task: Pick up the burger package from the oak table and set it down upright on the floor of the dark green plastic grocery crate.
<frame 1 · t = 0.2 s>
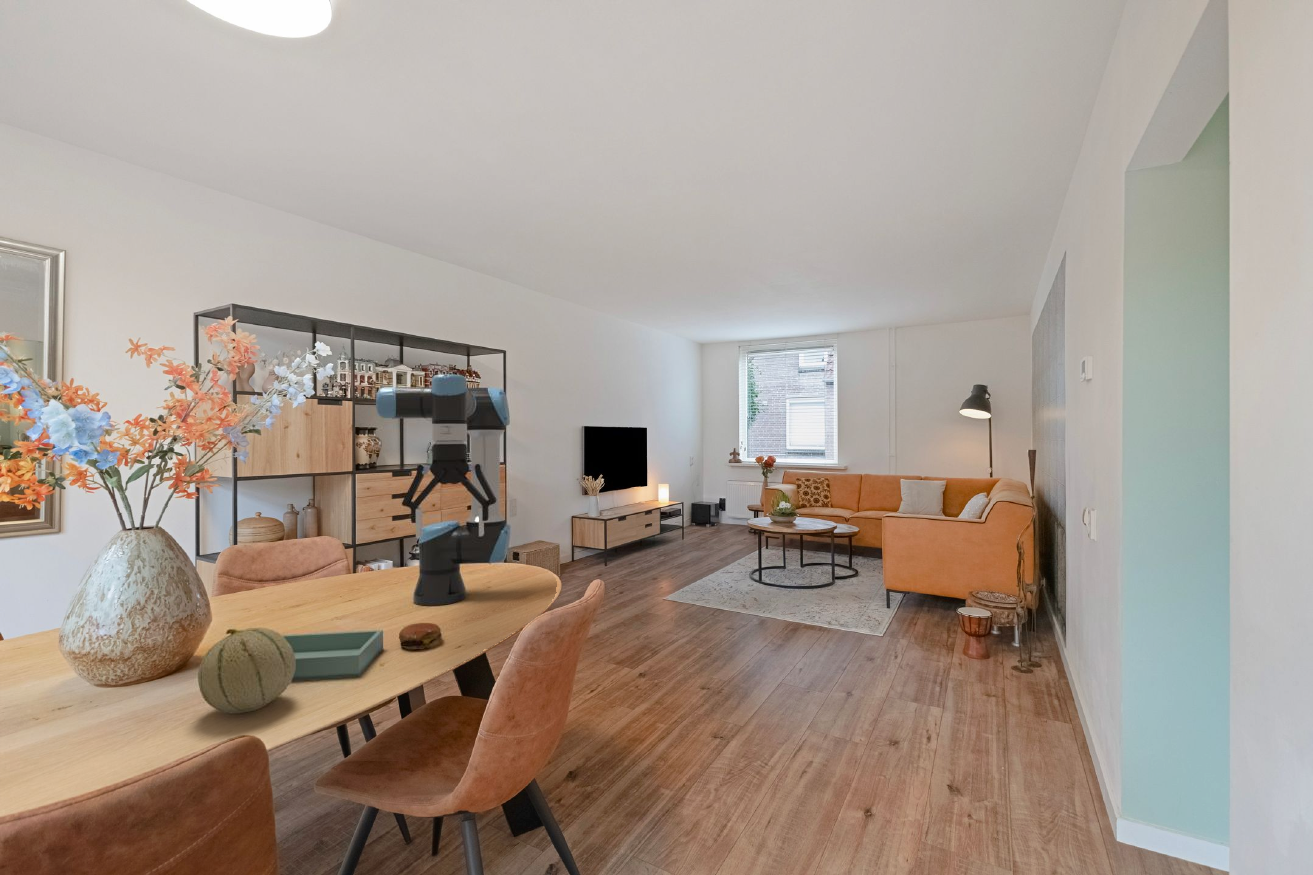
hand: (450, 536, 134), 27 cm above the table, fingers open, 13 cm apart
cantaloupe: (249, 709, 108), on the table
crate: (313, 665, 128), on the table
burger: (421, 645, 141), on the table
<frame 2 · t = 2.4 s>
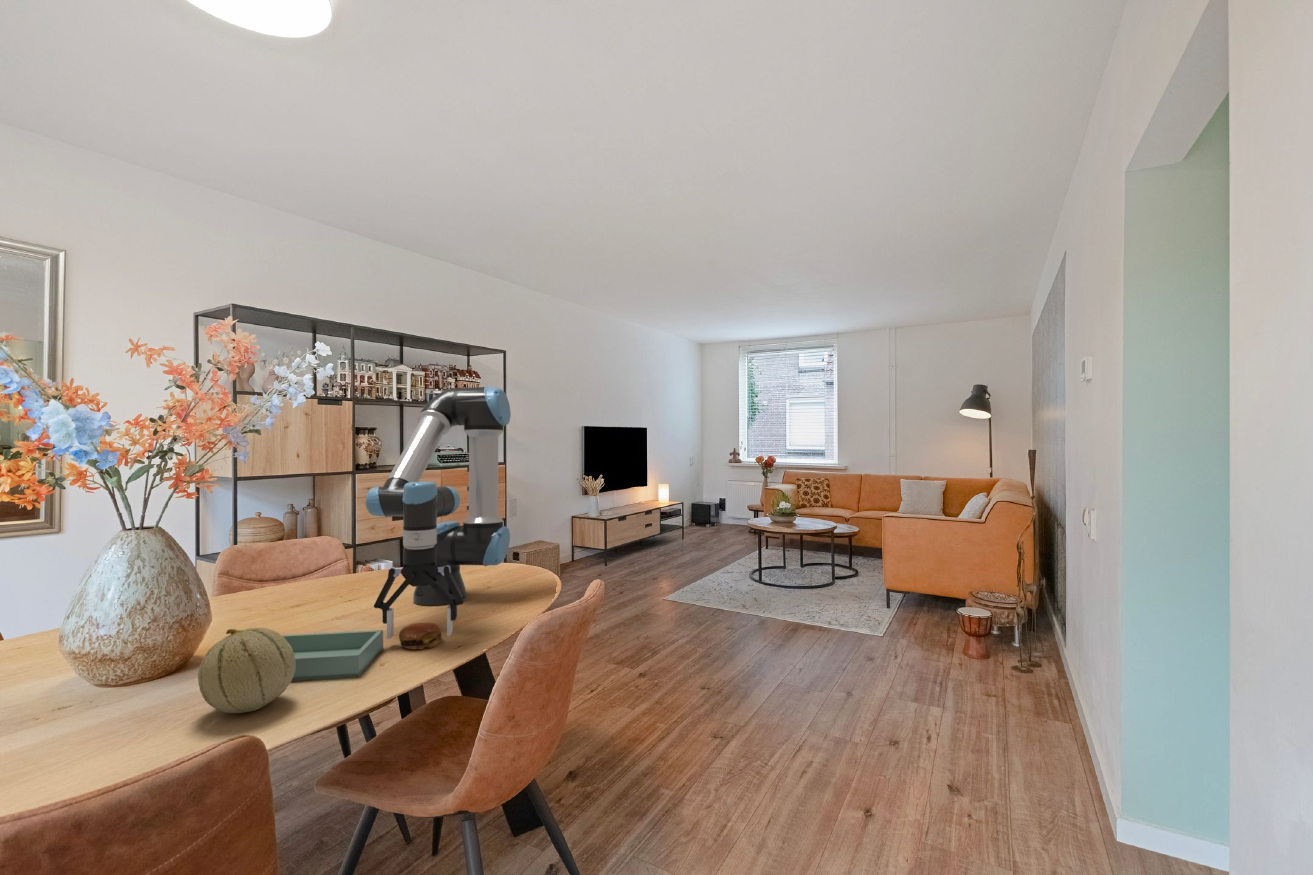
hand: (420, 635, 141), 2 cm above the table, fingers open, 13 cm apart
nothing on the table moved.
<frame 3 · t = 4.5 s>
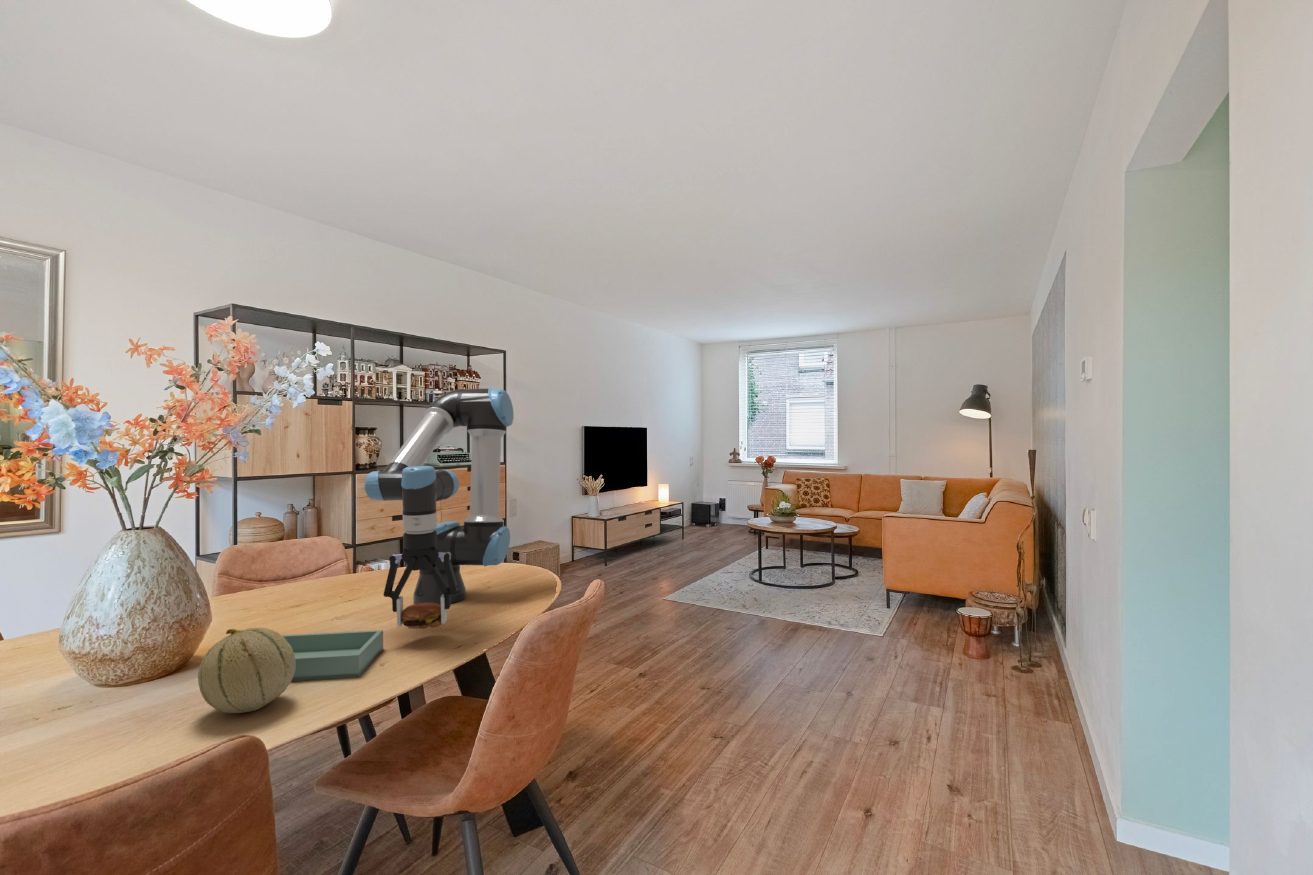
hand: (422, 623, 142), 5 cm above the table, fingers closed on burger, 9 cm apart
burger: (423, 624, 142), point 4 cm above the table, touching gripper
everything else where it was.
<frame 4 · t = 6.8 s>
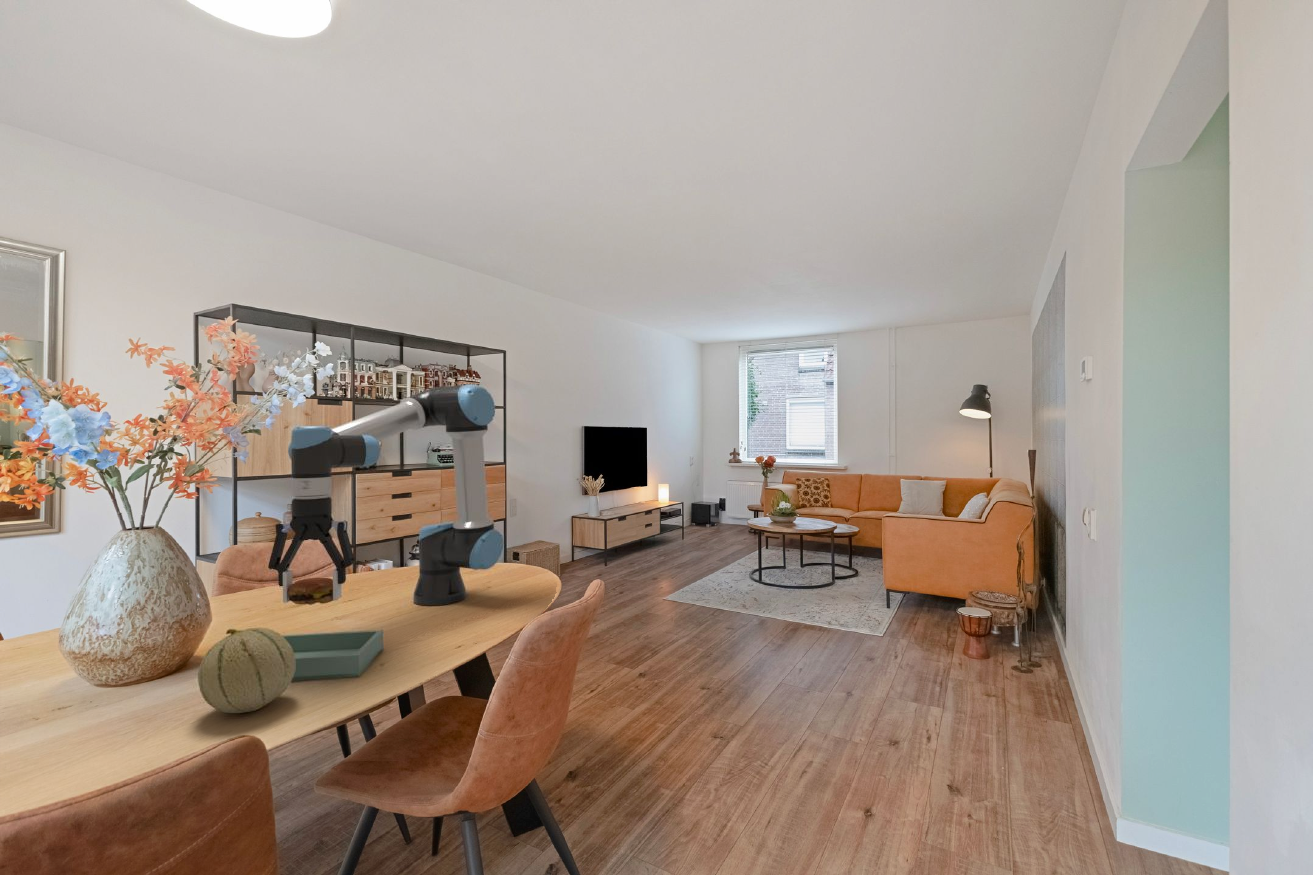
hand: (312, 599, 128), 14 cm above the table, fingers closed on burger, 9 cm apart
burger: (314, 601, 129), point 14 cm above the table, touching gripper
everything else where it was.
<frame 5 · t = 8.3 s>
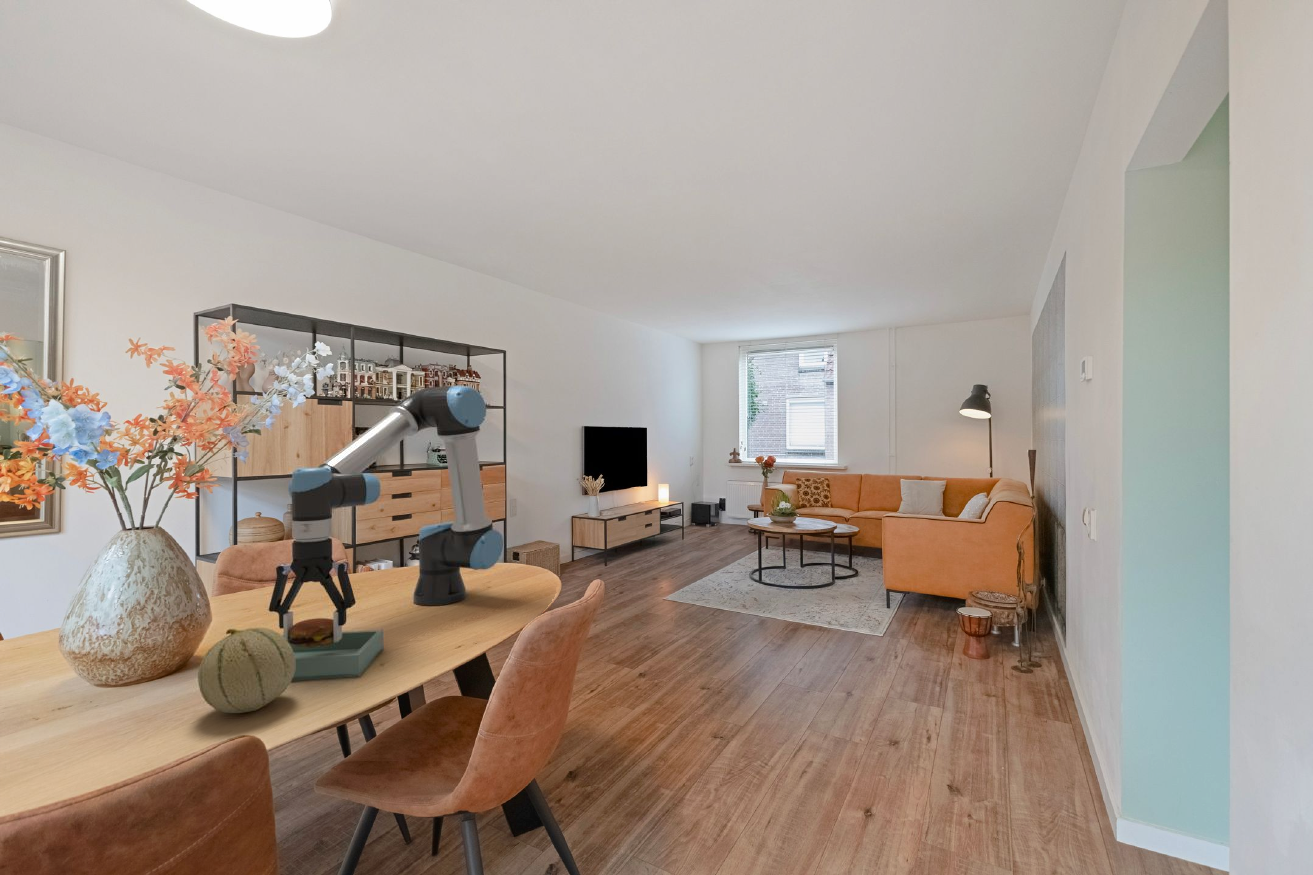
hand: (313, 641, 128), 5 cm above the table, fingers closed on burger, 9 cm apart
burger: (315, 643, 129), point 5 cm above the table, touching gripper
everything else where it was.
when the fingers open (5 cm above the table, at t = 9.3 s): burger drops 4 cm, resting on crate.
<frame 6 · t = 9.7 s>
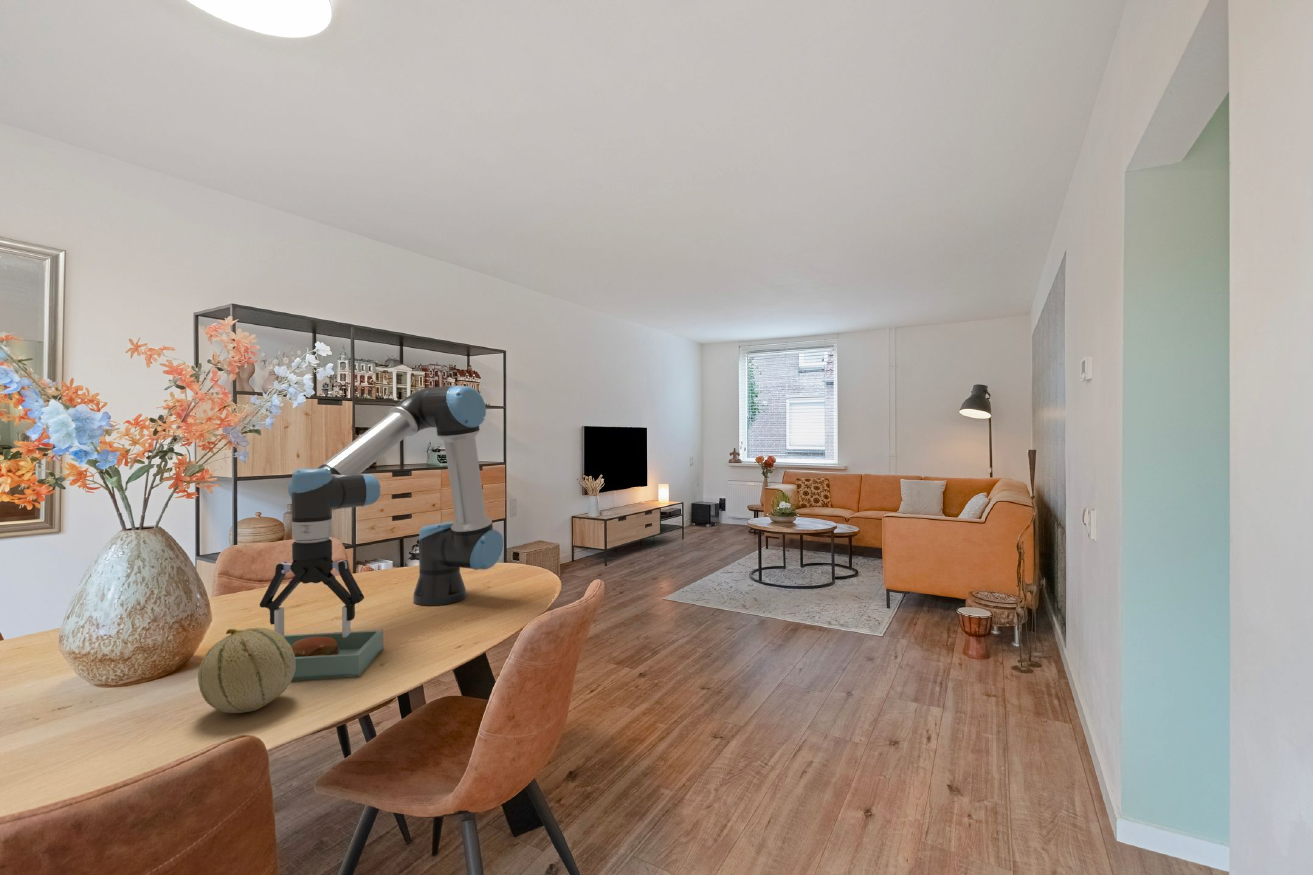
hand: (313, 637, 128), 6 cm above the table, fingers open, 13 cm apart
burger: (314, 661, 129), point 1 cm above the table, touching crate
everything else where it was.
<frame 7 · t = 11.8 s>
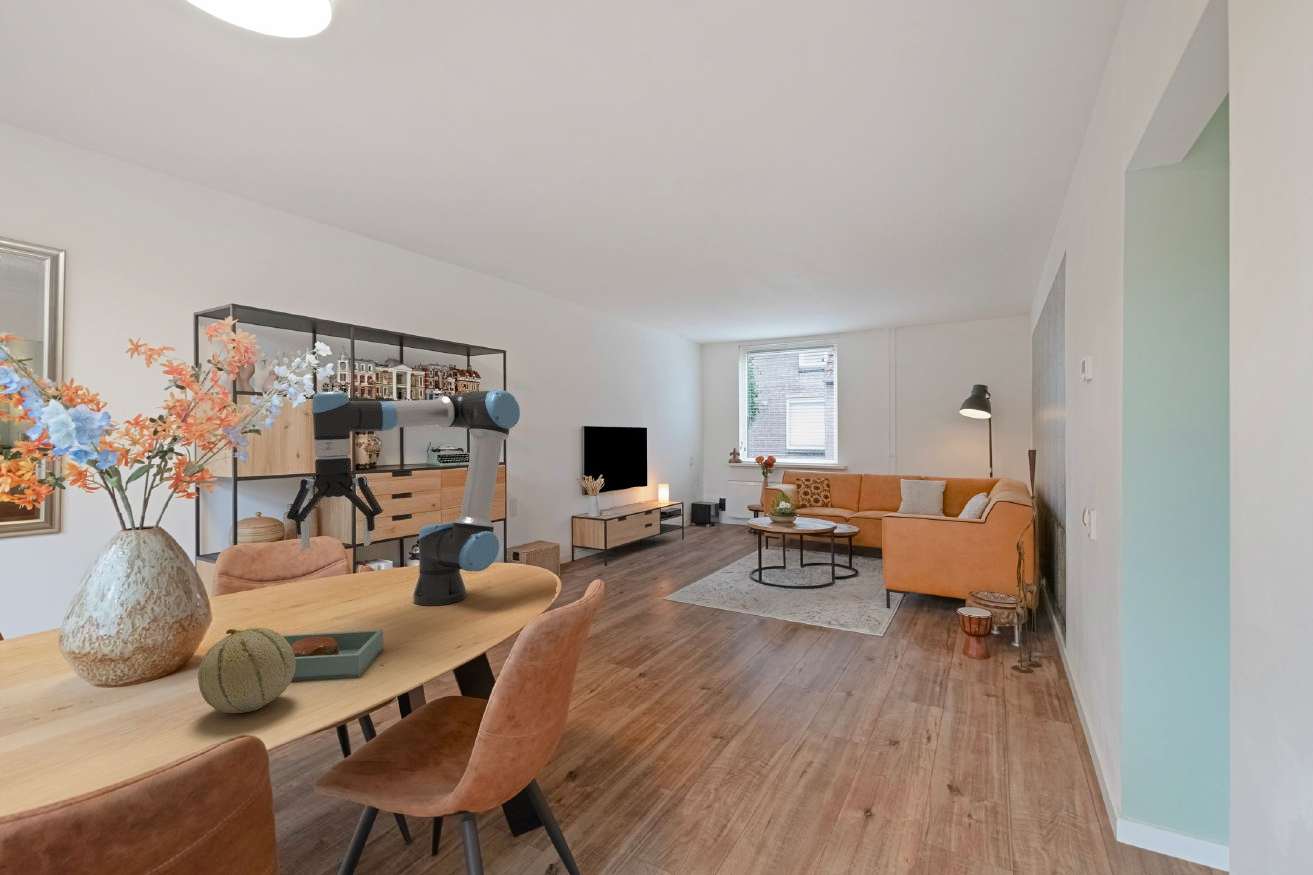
hand: (337, 546, 140), 24 cm above the table, fingers open, 13 cm apart
nothing on the table moved.
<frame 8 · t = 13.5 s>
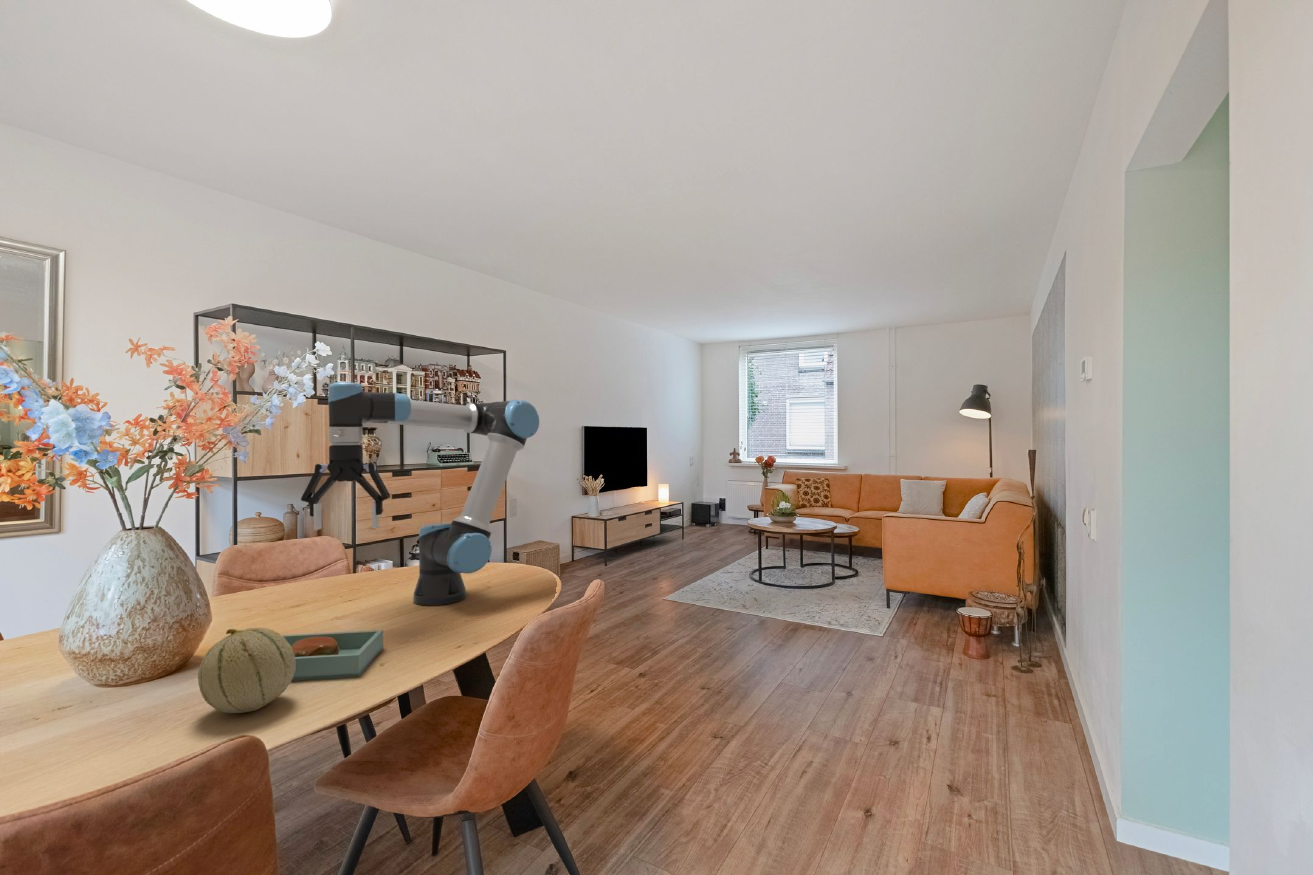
hand: (346, 528, 148), 27 cm above the table, fingers open, 13 cm apart
nothing on the table moved.
at the end: burger inside the target area on the crate (0.6 cm from its centre), point 0.6 cm above the crate's base; burger tilted 1°; the gripper is holding nothing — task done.
